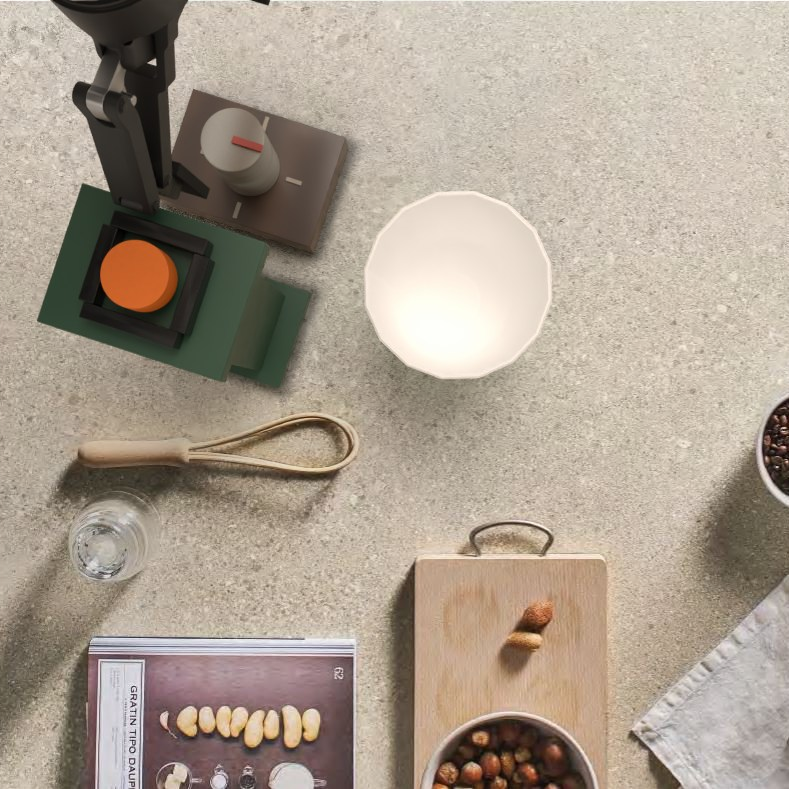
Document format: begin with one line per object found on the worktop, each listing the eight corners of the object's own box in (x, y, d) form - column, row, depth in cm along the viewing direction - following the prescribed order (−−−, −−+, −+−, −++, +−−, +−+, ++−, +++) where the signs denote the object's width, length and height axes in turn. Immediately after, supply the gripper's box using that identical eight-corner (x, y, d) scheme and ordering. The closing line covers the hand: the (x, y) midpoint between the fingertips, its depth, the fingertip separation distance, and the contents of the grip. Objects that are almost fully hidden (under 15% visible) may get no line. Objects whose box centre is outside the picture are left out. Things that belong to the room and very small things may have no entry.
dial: (214, 186, 76) (190, 159, 68) (232, 131, 76) (211, 97, 68) (269, 203, 76) (252, 179, 68) (287, 148, 76) (272, 117, 68)
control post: (154, 347, 79) (25, 318, 53) (185, 252, 79) (72, 176, 53) (280, 389, 79) (215, 381, 52) (312, 293, 79) (262, 237, 52)
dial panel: (166, 205, 79) (156, 197, 76) (201, 100, 79) (192, 87, 76) (313, 253, 79) (309, 247, 76) (348, 147, 79) (345, 137, 76)
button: (102, 300, 53) (90, 296, 51) (123, 237, 53) (112, 230, 51) (165, 321, 53) (156, 317, 51) (186, 257, 53) (177, 251, 51)
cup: (511, 397, 78) (536, 395, 63) (359, 371, 79) (347, 363, 63) (536, 245, 78) (568, 205, 63) (385, 220, 79) (379, 174, 63)
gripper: (86, 220, 39) (216, 283, 60) (260, -330, 38) (329, -70, 59) (-71, 170, 39) (113, 251, 60) (100, -373, 39) (225, -100, 60)
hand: (221, 92), depth 60 cm, fingers open, 13 cm apart
